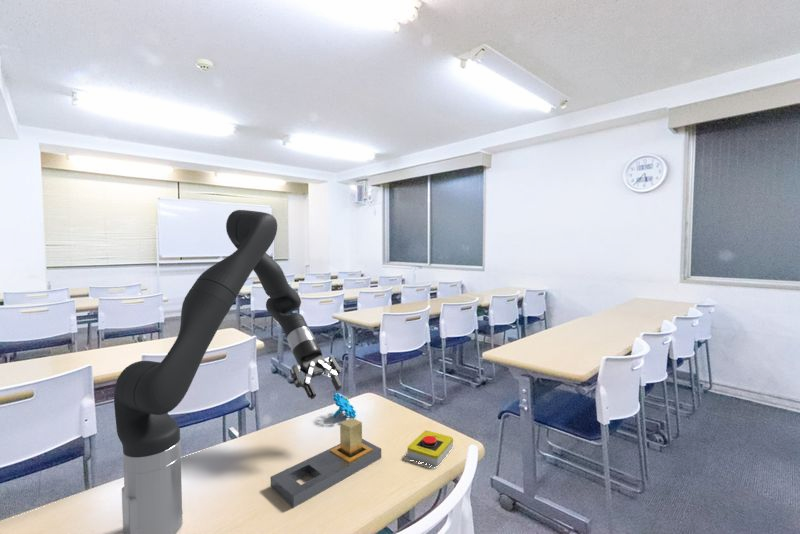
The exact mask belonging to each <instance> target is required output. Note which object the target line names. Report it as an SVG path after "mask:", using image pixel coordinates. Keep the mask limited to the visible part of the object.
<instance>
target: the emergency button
mask: <svg viewBox="0 0 800 534" xmlns="http://www.w3.org/2000/svg"><path fill="white" fill-rule="evenodd" d="M453 442H454V438H453V437H452V436H450V435H445V434H442V433H439V432H434V431H431V430H424V431H423V432H421V433H420V434H419V436H417V437H416V438H415V439H414V440H413V441H412V442H411V443H410V444H409V445H408V446H407V452H406V456H405V457H404V461H406V462H408V461H409V462H408V463H411V462H413V463H412V464H414V463H416V464H415V465H417V464H418V462H419V461H420V462H424V463H422V464H419V465H418V466H420V465H422V466H421V467H423V466H425V467H424V468H426V467H428V468H427V469H430V468H431V470H437V469H438V467H439V466H440V465H441V464H442V463H443V462H442V460H443V459H444V458H445V457H446V455H447V454H448V453H449V451H450V450H451V449H452V447H453ZM449 454H450V453H449ZM449 454H448V455H449ZM446 458H447V457H446ZM446 458H445V459H446ZM445 459H444V460H445ZM410 460H414V461H411V462H410ZM444 460H443V461H444ZM416 461H417V462H416ZM420 462H419V463H420ZM441 462H442V463H441ZM426 463H427V465H425V464H426ZM440 463H441V464H440ZM429 464H430V465H429ZM439 464H440V465H439ZM431 465H432V466H431ZM438 465H439V466H438ZM430 466H431V467H430ZM436 466H438V467H436ZM429 467H430V468H429ZM434 467H435V468H434ZM433 468H434V469H433Z"/></svg>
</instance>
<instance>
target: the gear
mask: <svg viewBox="0 0 800 534" xmlns="http://www.w3.org/2000/svg"><path fill="white" fill-rule="evenodd" d="M332 397H333V399H332V400H333V402H335V406H336V407H338V409H337V411H335V412H334V414H332V416H333V418H336V417H338V415H340V413H343V412H345V413H344V415H345V416H346V417H349V419H350V418H354V419H355V418H356V417H357V412H356V411H357V410H355V409H354V406H353V405H352V404H351V403H350V401H349V399H348V397H346V398H345V396H344V395H341V394H340V393H339V392H337V393H334V394H333V396H332Z"/></svg>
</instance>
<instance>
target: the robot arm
mask: <svg viewBox="0 0 800 534" xmlns="http://www.w3.org/2000/svg"><path fill="white" fill-rule="evenodd" d="M225 228H226V230H225V231H226V234H227V236H228V238H229V240H230V241H231V243H232V244H233V245H234V247H235V248H236V250H235V251H234V252H233V253H231V254H229V255H228V256H227V257H225V258H223V259H222V260H220V261H218V262H216V263H215V264H212V265H211V266H210V267H209V268H207V269H206V270H204V271H203V272H202V273H201V274H200V275H198V277H197V279H196V280H195V282H194V283H193V285H192V286H191V288H190V289H189V291H188V292H187V294H186V295H185V297H184V298H183V301H182V304H181V305H182V307H181V312H180V324H179V326H180V327H179V331H178V335H177V337H176V340H175V341H174V343H173V344H172V346H171V348H170V349H169V350H168V353H167V354H166V355H165V356H164V358H163V359H162V360H161V362H160V361H153V360H139V361H135V362H134V363H133V362H132V363H131V364H129V365H128V366H126V367H125V368H124V369H123V370H122V371H121V373H120V374H119V376H118V377H117V380H116V381H115V382H116V383H115V386H114V391H113V405H114V417H115V426H116V427H115V428H116V435H117V437H118V440H119V441H120V442H121V444H122V454H123V455H122V457H123V483H124V484H123V487H122V488H121V505H122V506H121V508H122V534H176V533H177V532H178V531H179V530H180V529H181V527H182V524H183V514H184V513H183V496H182V495H183V493H182V457H181V456H182V455H181V454H182V452H181V429H180V428H181V427H180V425H179V423H178V422H177V421H176V420H175V419H173V417H172V416H171V415H170V414H169V413H170V412H172V411H173V410H174V409H175V408H176V407H177V406H178V405H180V404H181V402H182V401H183V399H184V398H185V396H186V395H187V393H188V391H189V389H190V387H191V385H192V382H193V380H194V379H195V376H196V373H197V371H198V370H199V367H200V365H201V363H202V360H203V358H204V356H205V354H206V352H207V351H208V348H209V347H210V345H211V343H212V341H213V339H214V337H215V336H216V334H217V331H218V330H219V328H220V326H221V325H222V323H223V321H224V319H225V318H226V317H227V315H228V313H229V311H230V310H231V309H232V307H233V305H234V302H236V299H237V298H238V296H239V294H240V292H241V290H242V288H243V287H244V285H245V283H246V282H247V280H248V279H249V277H250V275H251V273H252V272H253V271H254V273H255V275H256V276H257V278H258V280H259V283H260V284H261V287H262V288H263V291H264V292H265V294H266V295H267V296H268V297H269V298H268V299H267V300H266V302H265V308H266V311H267V312H268V313H269V315H270V316H272V318H273V319H274V320H275V321H276V322H277V324H279V325H280V327H281V329H282V331H283V333H284V335H285V337H286V339H287V343H288V346H289V349H290V350H291V353H292V355H293V356H294V359H295V361H296V363H297V364H293V365H292V366H291V368H290V369H289V372H290V375H291V378H292V380H293V383H294V385H295V387H296V389H297V388H298V389H299V388H303V389H304V391H305V393H306V395H307V397H308V398H309V399H311V400H314V399H315V398H316V397H317V393H316V391H315V389H314V387H313V384H312V383H311V378H312V379H313V378H315V377H319V376H323V377H327V378H328V379H330V382H331V383H332V385H333V387H334V389H335V391H336V392H338V391H340V390H341V388H342V385H343V384H342V381H341V380H340V377H339V375H340V373H341V372H342V368H341V367H340V365H339V364H338V362H337V360H336V358H335V357H334V356H335V355H332V354H331V355H330V356H329V357H326V358H325V357H324V356H323V353H322V352H323V351H322V350H321V347H320V346H319V344H318V342H317V340H316V337H315V335H314V334H313V332H312V331H311V330H310V328H309V325H308V324H307V321H306V320H305V318H304V316H303V315H302V314H300V313H292V312H294V311H297V310H298V309H299V308H300V307H301V304H302V299H301V297H300V295H299V294H298V292H296V290H295V289H294V288H293V287H292V286H291V285H290V284H289V283H288V281H287V278H286V275H285V273H284V271H283V269H282V267H281V266H280V265H279V263H277V261H276V260H274V259H273V257H272V256H270V255H269V254H268V253H267V252H268V250H269V248H270V247H271V246H272V244H273V242H274V241H275V239H276V235H277V232H278V221H277V219H276V217H275V216H274V215H272V214H270V213H268V212H265V211H264V212H263V211H257V210H250V209H249V210H248V209H247V210H246V209H237V210H233V211H232V212H230V214H229V215H228V217H227V220H226V224H225ZM291 313H292V314H291ZM301 372H302V373H304V376H303V378H302V375H301Z"/></svg>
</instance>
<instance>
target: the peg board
mask: <svg viewBox="0 0 800 534" xmlns="http://www.w3.org/2000/svg"><path fill="white" fill-rule="evenodd" d="M381 459H382V448H381V447H379V446H378V445H375V444H374V443H371V442H369V441H367V440H366V439H365V438H364V439H363V438H362V452H361V453H359V454H357V455H355V456H353V457H351V458H349V457H347V456H346V455H344V454H342V453H341V452H340V443H338V444H337V445H335V446H333V447H330V448H328V449H326V450H324V451H322V452H319V453H318V454H316V455H314V456H312V457H309V458H308V459H305V460H303V461H301V462H299V463H296V464H295V465H293V466H290V467H288V468H287V469H283V470H282V471H280V472H278V473H276V474H273V475H271V476H270V488H271V489H272V490H273V491H274V492H275V493H276V494H278V496H280V497H281V498H282V499H283V500H284V501H285V502H287V503H288V504H289V505H290V506H291V507H292V508H297V506H299V505H301V504H302V503H304V502H306V501H308V500H309V499H312V498H313V497H316V496H317V495H319V494H320V493H322V492H324V491H326V490H327V489H330V488H331V487H333V486H335V485H336V484H339V483H340V482H341V481H343V480H345V479H347V478H348V477H350V476H352V475H354V474H356V473H358V472H359V471H361V470H362V469H364V468H366V467H368V466H369V465H371V464H373V463H375V462H377V461H379V460H381ZM308 475H309V476H310V477H311V478H312V479H311V478H310V479H309V480H308V481H305V482H304V483H302V484H301V483H299V482H298V481H299V480H301V479H303V478H304V477H306V476H308Z"/></svg>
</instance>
